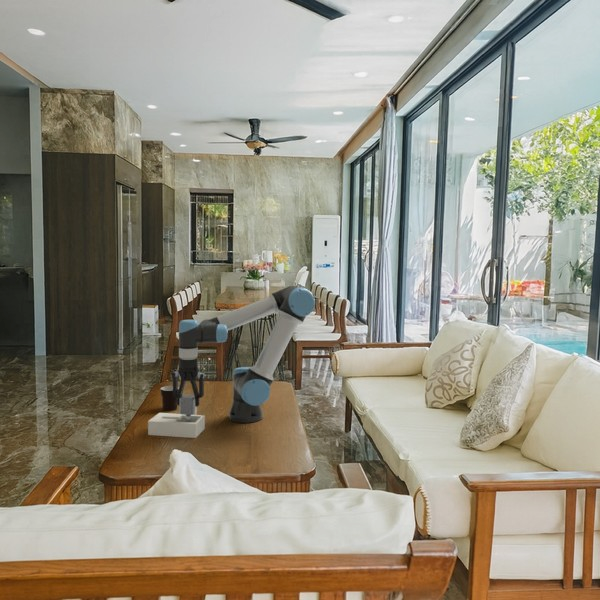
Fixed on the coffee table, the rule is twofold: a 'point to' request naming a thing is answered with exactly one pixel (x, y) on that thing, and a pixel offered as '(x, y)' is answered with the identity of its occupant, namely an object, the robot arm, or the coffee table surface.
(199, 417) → the white stepped recess tray
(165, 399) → the coffee mug
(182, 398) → the t peg
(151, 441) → the coffee table surface
